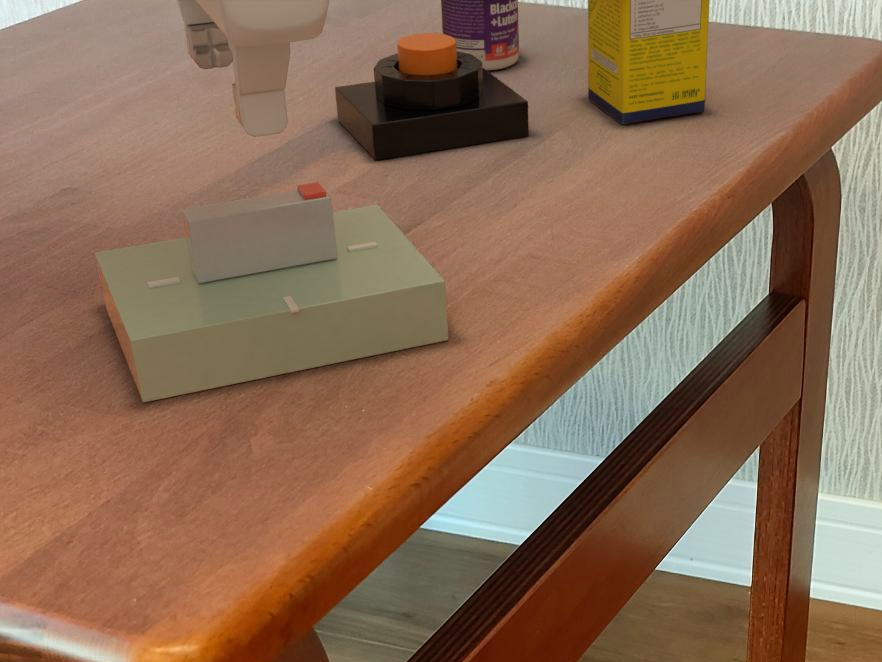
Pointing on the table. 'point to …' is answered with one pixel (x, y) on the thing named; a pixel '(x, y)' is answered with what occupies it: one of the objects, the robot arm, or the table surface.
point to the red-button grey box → (260, 233)
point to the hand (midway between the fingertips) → (236, 95)
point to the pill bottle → (484, 29)
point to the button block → (430, 109)
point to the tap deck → (270, 309)
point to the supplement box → (647, 57)
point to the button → (427, 54)
